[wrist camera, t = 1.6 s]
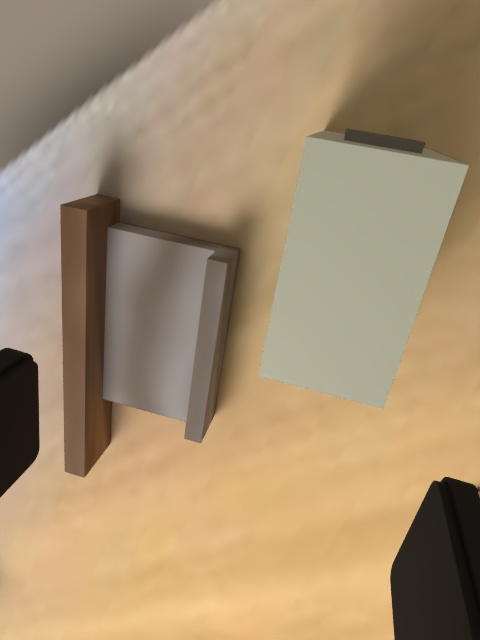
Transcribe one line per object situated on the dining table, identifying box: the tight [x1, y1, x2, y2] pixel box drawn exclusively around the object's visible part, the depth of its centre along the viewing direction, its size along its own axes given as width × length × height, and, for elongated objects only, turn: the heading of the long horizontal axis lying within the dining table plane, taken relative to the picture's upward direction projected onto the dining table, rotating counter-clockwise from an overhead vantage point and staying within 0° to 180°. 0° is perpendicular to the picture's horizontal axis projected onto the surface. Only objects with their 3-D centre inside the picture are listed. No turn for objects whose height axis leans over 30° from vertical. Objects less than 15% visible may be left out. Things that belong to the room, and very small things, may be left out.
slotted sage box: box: [259, 129, 469, 408], centre depth 22 cm, size 6×10×10 cm, turn 171°
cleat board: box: [61, 194, 240, 477], centre depth 31 cm, size 10×20×4 cm, turn 171°
